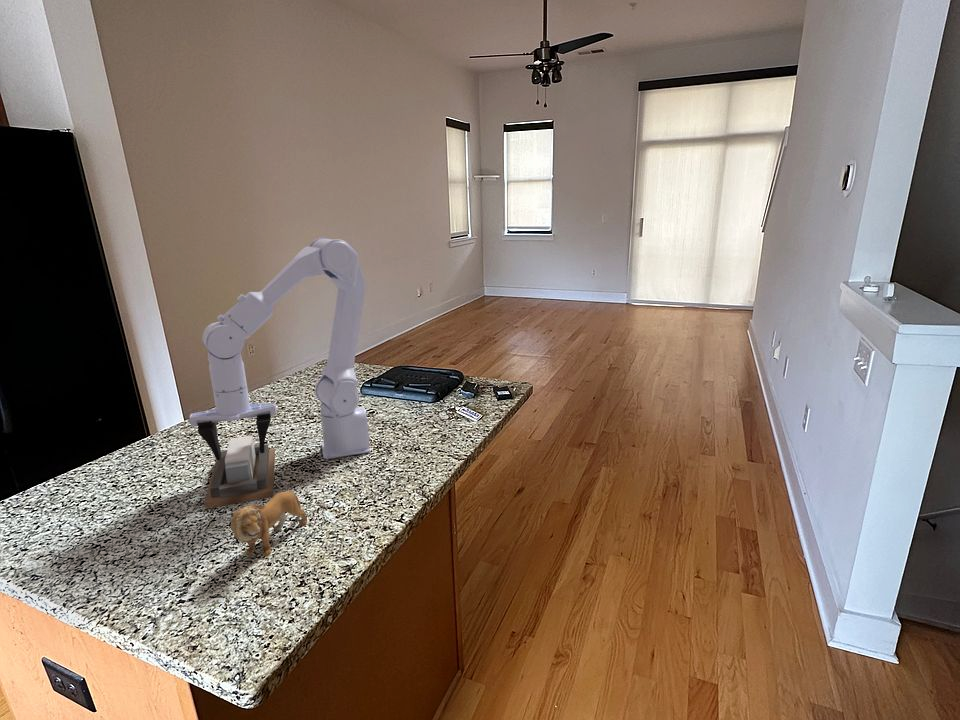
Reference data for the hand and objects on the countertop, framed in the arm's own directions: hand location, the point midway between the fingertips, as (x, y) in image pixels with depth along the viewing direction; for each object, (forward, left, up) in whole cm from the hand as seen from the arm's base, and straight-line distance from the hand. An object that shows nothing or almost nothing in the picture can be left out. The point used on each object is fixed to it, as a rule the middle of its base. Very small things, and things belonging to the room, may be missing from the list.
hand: (241, 454), depth 98 cm
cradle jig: (0, +1, -5) cm, 5 cm away
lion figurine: (-6, +24, -5) cm, 26 cm away
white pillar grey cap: (0, 0, -3) cm, 3 cm away
